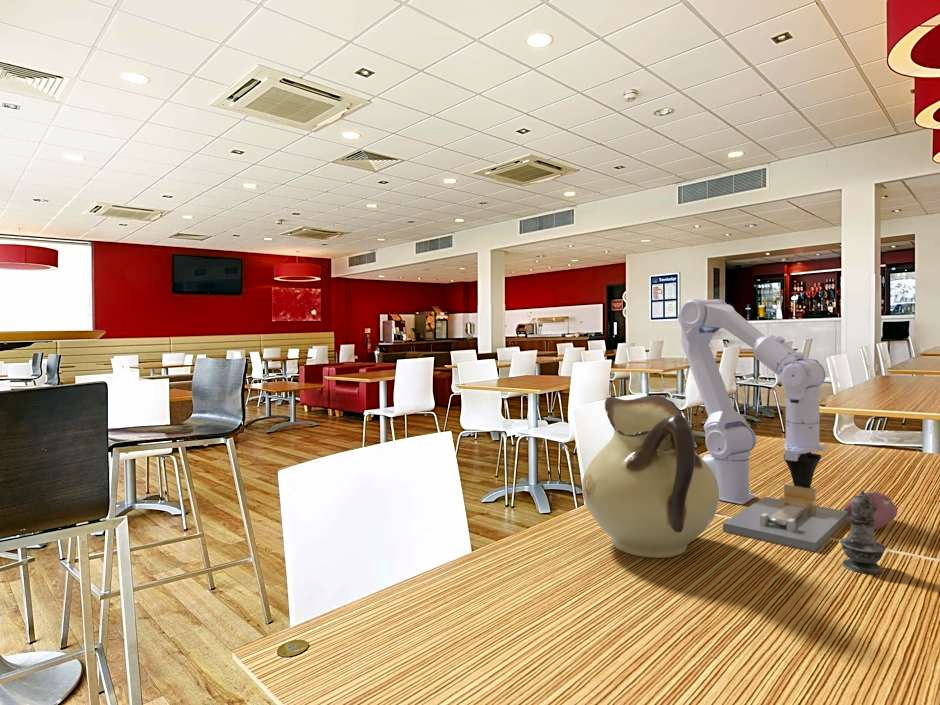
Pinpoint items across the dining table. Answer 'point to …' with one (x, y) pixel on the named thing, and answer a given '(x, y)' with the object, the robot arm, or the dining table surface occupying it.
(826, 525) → the base board
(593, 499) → the pitcher
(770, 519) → the silver flat bar
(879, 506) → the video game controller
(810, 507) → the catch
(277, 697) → the dining table surface
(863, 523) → the grey stone finial
